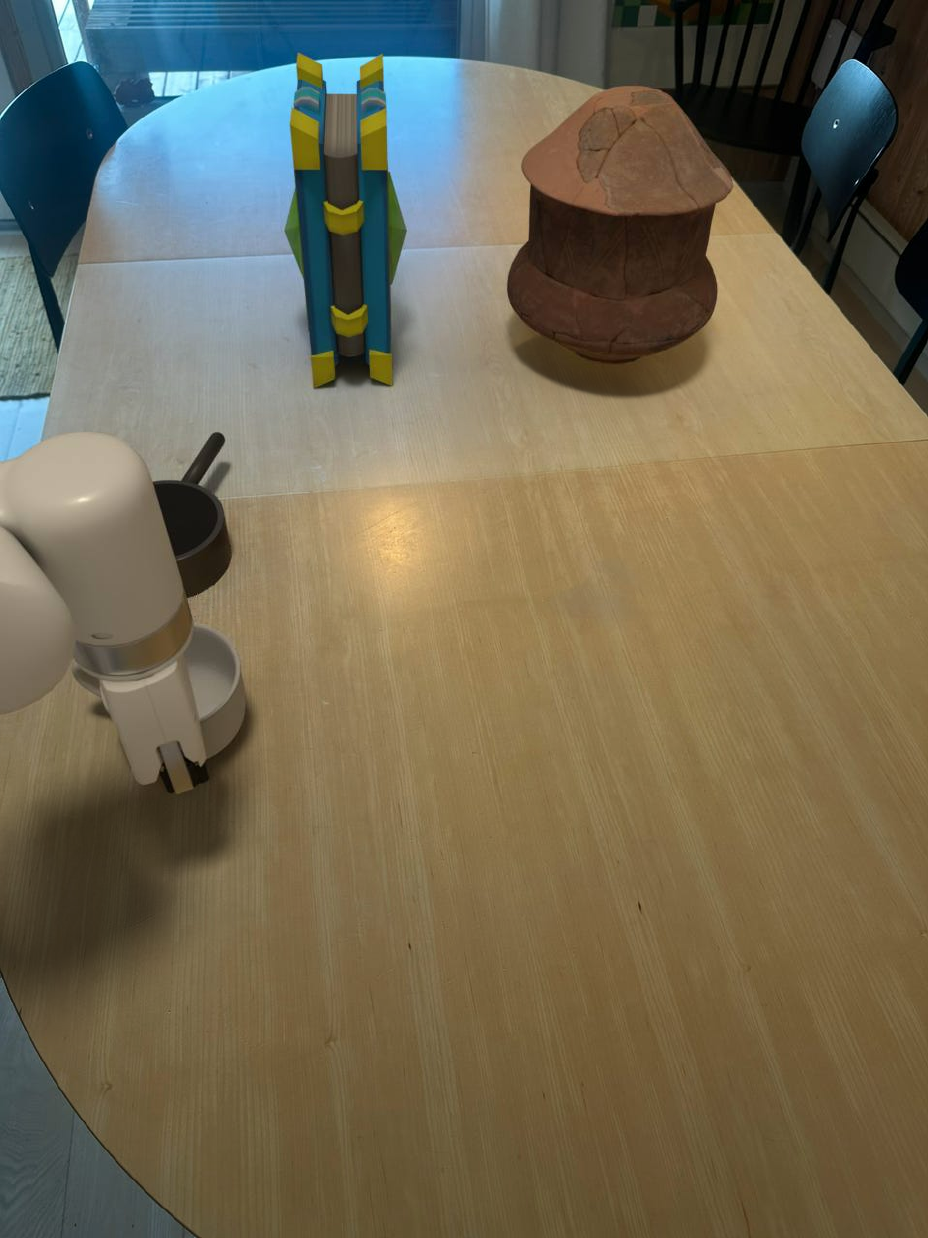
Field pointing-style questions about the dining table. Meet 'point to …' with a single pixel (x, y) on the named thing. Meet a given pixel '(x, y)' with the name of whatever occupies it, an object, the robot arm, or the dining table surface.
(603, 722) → the dining table surface
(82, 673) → the teacup
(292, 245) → the decorative book
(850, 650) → the dining table surface
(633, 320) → the pottery vessel
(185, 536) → the milk pan
